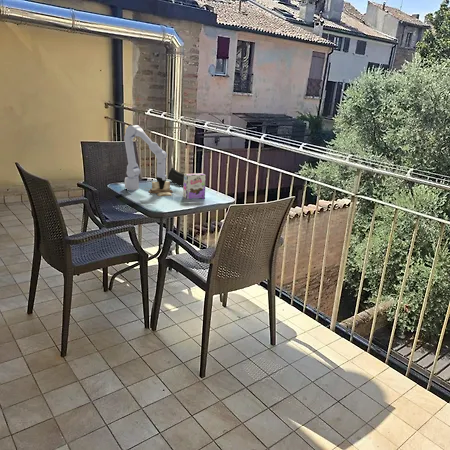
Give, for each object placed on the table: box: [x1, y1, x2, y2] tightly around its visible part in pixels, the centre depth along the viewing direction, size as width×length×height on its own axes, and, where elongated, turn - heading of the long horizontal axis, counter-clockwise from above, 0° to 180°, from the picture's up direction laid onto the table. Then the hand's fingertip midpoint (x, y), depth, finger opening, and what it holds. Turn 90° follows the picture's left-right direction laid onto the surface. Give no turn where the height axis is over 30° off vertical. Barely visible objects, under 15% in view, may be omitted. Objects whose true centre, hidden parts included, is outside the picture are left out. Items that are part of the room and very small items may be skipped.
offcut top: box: [157, 192, 172, 197], centre depth 276 cm, size 8×4×1 cm, turn 113°
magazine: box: [167, 167, 185, 187], centre depth 312 cm, size 17×3×30 cm
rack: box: [148, 189, 174, 194], centre depth 283 cm, size 16×5×2 cm, turn 114°
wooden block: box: [151, 180, 171, 190], centre depth 283 cm, size 12×2×8 cm, turn 114°
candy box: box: [182, 172, 207, 200], centre depth 274 cm, size 14×6×16 cm, turn 117°
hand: (160, 188), depth 283 cm, fingers closed on wooden block, 2 cm apart
